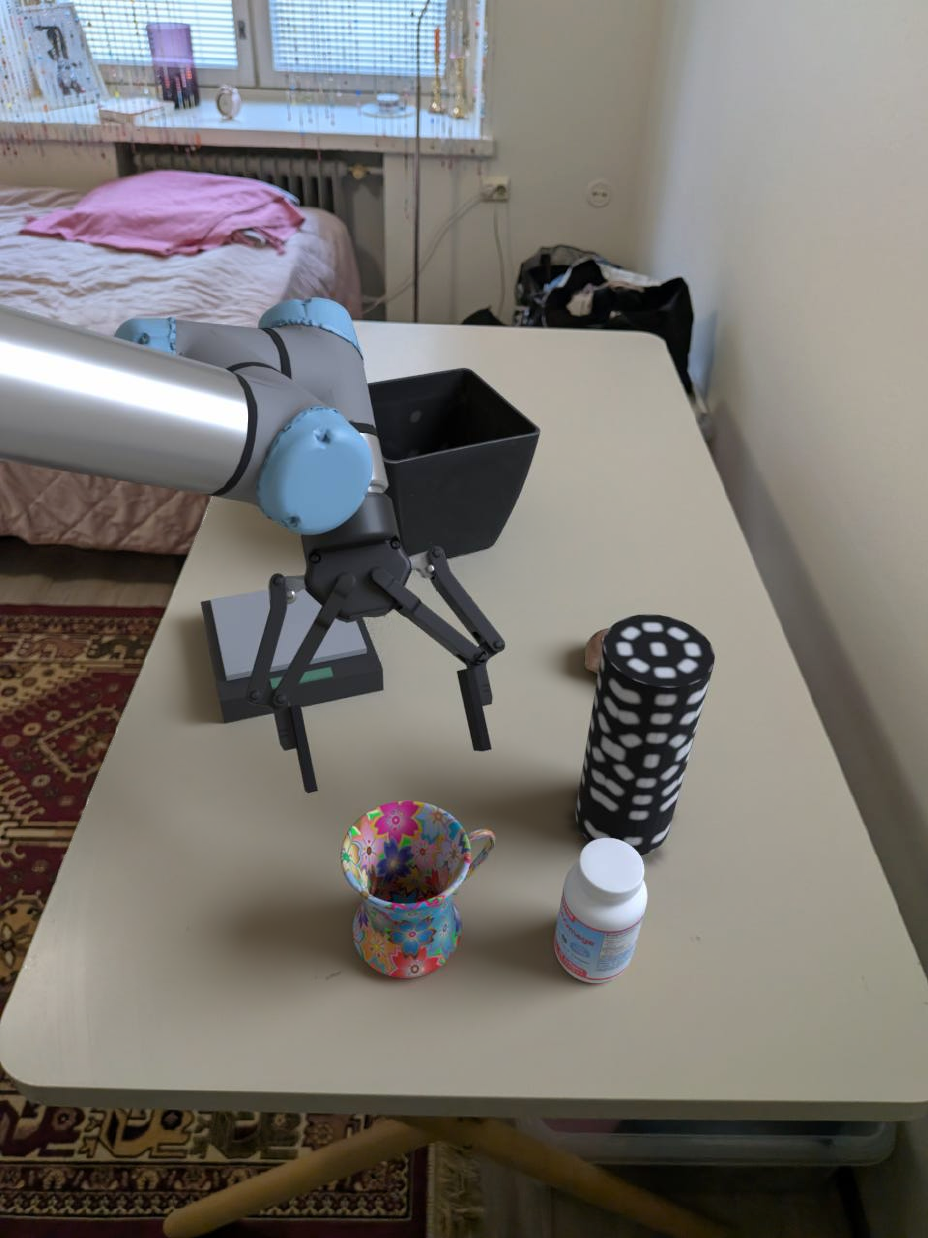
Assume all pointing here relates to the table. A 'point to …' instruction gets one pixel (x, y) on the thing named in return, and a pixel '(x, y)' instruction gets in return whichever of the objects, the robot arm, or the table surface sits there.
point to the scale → (286, 653)
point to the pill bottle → (601, 911)
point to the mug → (408, 884)
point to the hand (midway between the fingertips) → (399, 770)
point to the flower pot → (451, 458)
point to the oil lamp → (594, 650)
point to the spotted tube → (642, 728)
